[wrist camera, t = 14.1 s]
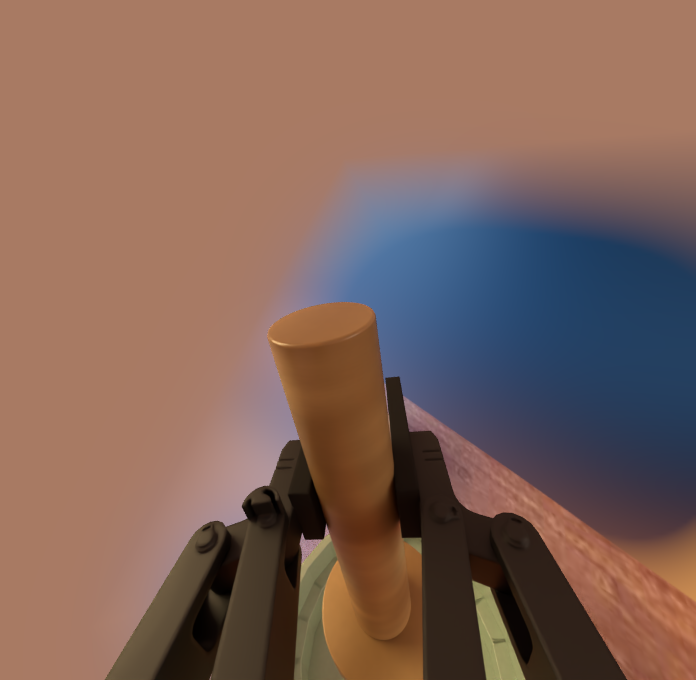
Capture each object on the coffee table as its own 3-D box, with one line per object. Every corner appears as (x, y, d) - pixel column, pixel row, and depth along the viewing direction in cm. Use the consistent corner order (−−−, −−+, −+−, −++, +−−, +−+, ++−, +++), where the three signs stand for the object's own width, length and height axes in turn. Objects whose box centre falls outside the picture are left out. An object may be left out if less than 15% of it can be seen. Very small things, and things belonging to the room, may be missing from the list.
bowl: (239, 767, 21) (208, 745, 18) (347, 521, 37) (339, 489, 34) (547, 1099, 12) (576, 1154, 10) (520, 591, 28) (528, 556, 25)
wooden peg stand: (303, 655, 14) (138, 369, 7) (355, 530, 19) (295, 287, 12) (433, 750, 11) (402, 422, 4) (454, 571, 16) (459, 282, 9)
